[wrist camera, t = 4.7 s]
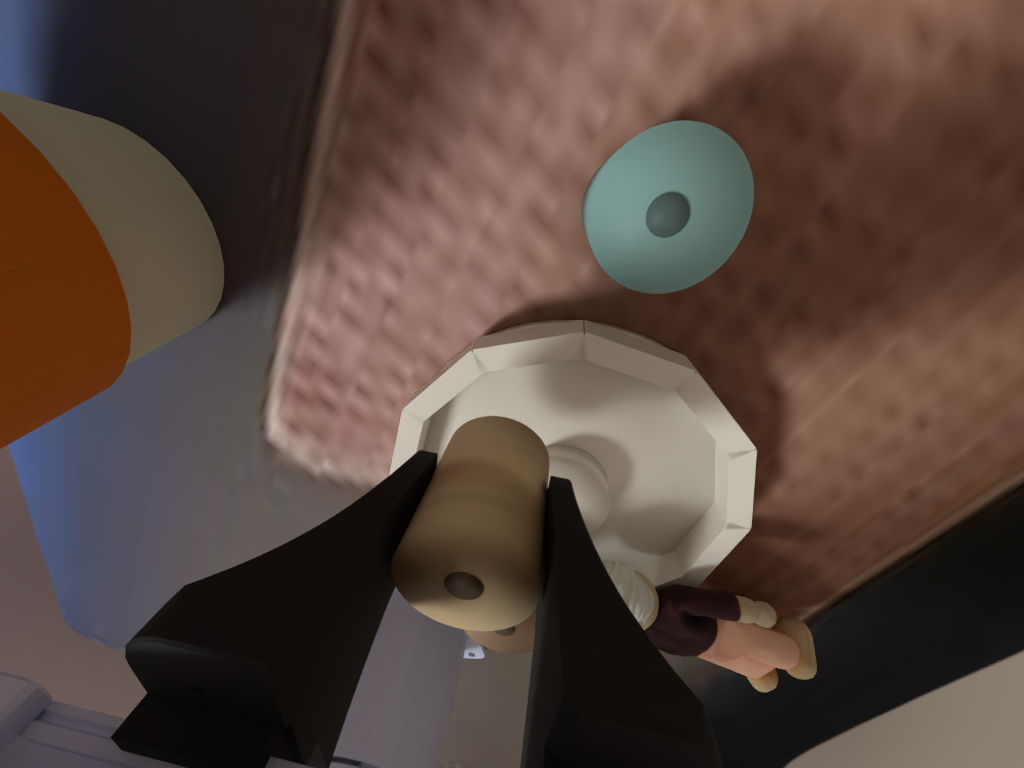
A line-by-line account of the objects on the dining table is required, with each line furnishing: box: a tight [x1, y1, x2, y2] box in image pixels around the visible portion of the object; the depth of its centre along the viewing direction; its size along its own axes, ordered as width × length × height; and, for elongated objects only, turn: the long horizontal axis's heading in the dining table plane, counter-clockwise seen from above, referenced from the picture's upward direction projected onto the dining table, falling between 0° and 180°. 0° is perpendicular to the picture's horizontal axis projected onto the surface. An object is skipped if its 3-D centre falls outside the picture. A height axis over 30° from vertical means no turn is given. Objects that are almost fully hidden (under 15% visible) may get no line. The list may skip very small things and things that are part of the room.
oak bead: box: [391, 416, 550, 631], centre depth 12 cm, size 4×4×5 cm
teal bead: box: [582, 120, 754, 294], centre depth 11 cm, size 4×4×5 cm
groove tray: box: [389, 319, 757, 589], centre depth 18 cm, size 16×16×2 cm
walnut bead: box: [464, 609, 536, 653], centre depth 18 cm, size 4×4×5 cm
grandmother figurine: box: [602, 560, 817, 692], centre depth 19 cm, size 8×4×13 cm
